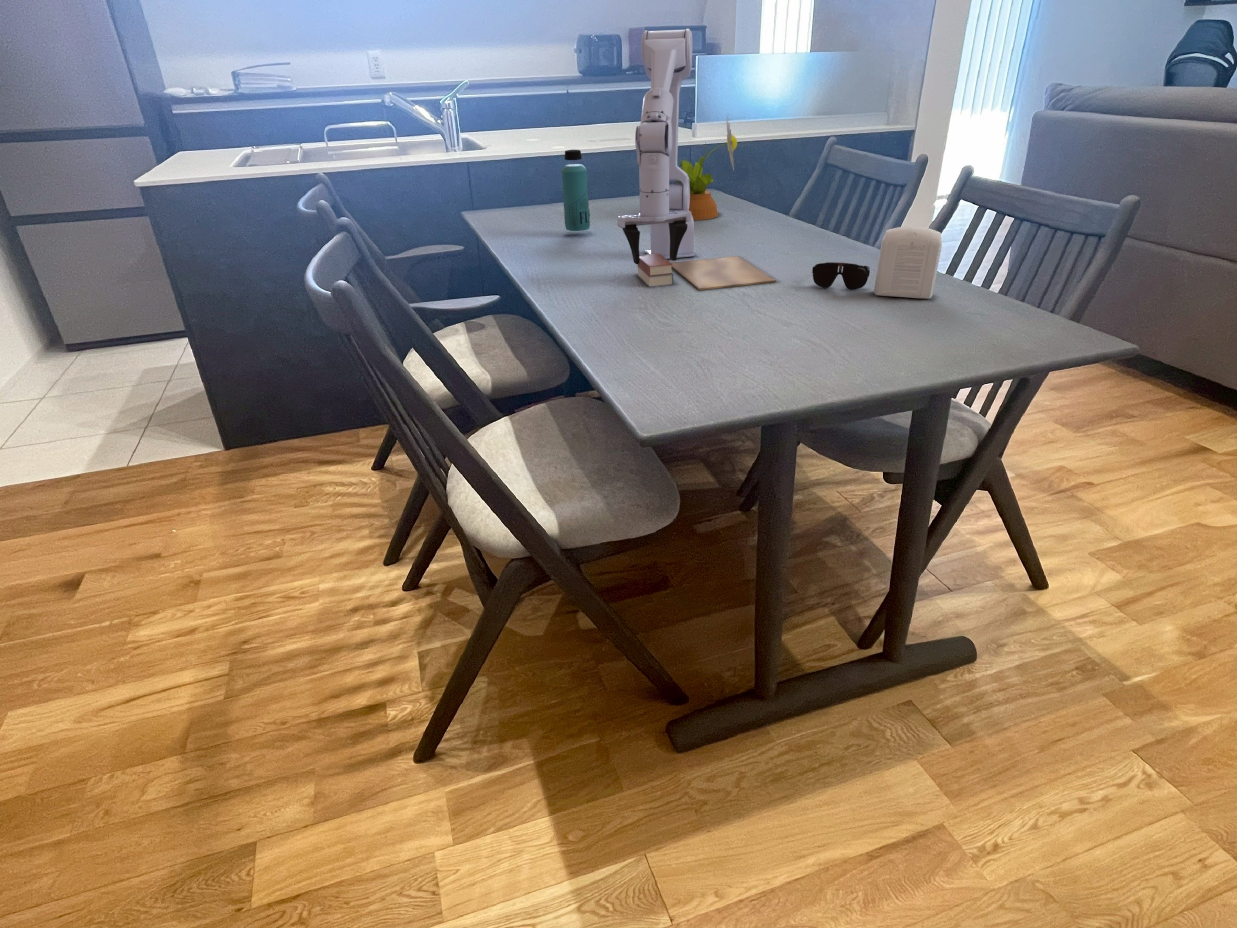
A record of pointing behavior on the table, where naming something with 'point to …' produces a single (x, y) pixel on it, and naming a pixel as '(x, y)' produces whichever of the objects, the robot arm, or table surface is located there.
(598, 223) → the table surface
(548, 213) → the table surface
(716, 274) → the cork mat
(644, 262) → the book stack
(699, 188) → the decorative plant
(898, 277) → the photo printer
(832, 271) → the sunglasses
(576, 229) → the beverage bottle
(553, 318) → the table surface
